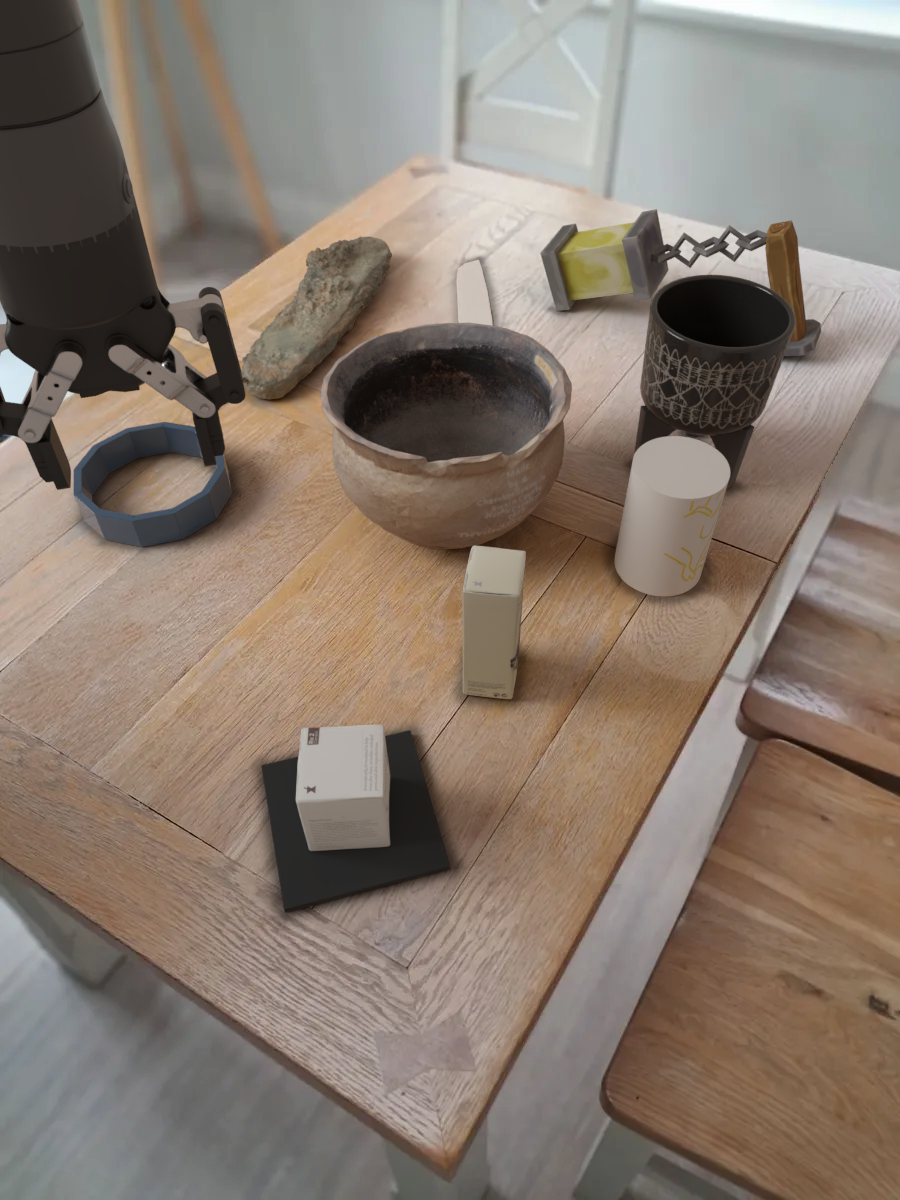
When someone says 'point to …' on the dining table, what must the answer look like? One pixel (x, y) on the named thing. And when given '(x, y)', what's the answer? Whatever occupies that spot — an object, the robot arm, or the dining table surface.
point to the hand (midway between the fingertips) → (138, 469)
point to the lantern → (666, 265)
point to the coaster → (363, 868)
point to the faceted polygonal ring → (157, 523)
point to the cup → (670, 514)
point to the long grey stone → (316, 315)
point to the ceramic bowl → (447, 430)
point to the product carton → (344, 787)
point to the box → (492, 621)
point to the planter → (712, 360)
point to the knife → (472, 295)
